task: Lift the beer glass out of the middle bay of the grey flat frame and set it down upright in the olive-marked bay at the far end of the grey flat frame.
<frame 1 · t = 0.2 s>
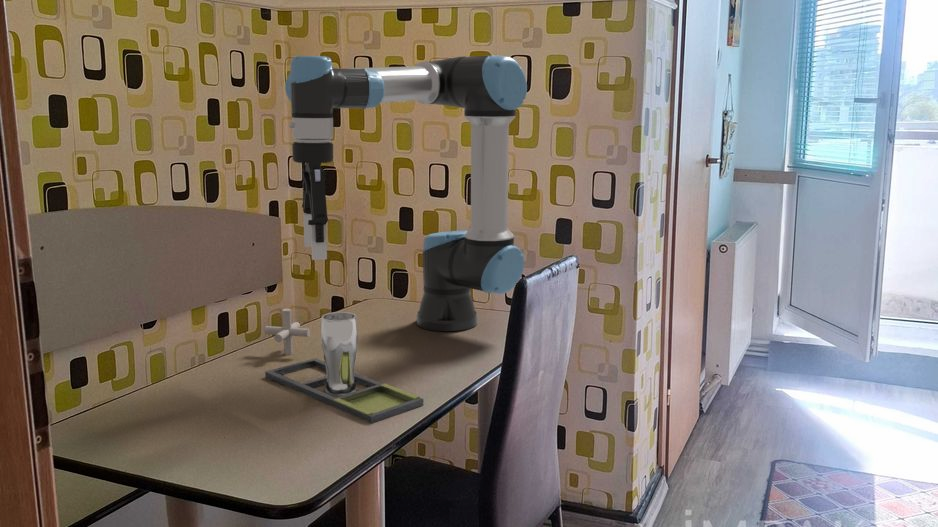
hand: (315, 252, 165), 27 cm above the table, fingers open, 13 cm apart
grey flat frame: (340, 390, 167), on the table
pipe connector: (288, 354, 190), on the table
beer glass: (340, 391, 167), resting in grey flat frame
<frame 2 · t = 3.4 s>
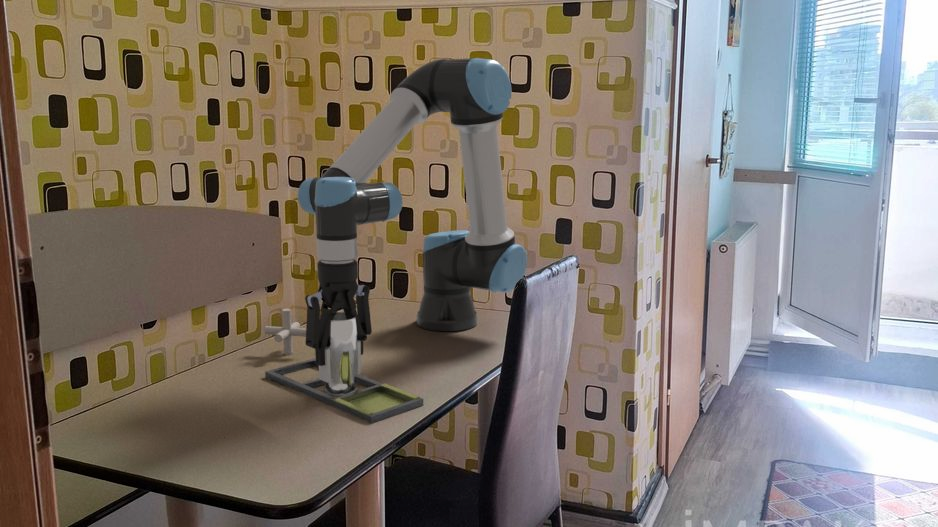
hand: (340, 375, 167), 3 cm above the table, fingers closed on beer glass, 7 cm apart
beer glass: (340, 391, 167), resting in grey flat frame, touching gripper
everything else where it was.
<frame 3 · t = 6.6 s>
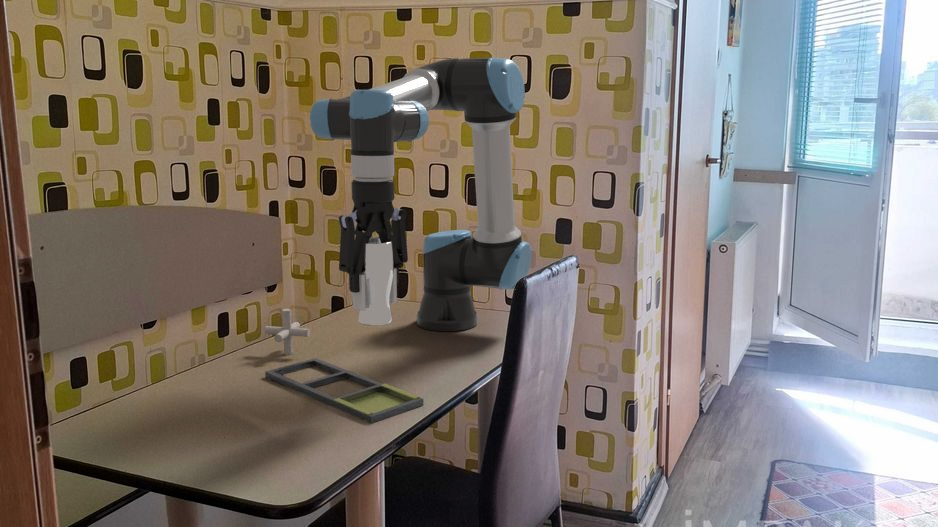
hand: (375, 305, 156), 19 cm above the table, fingers closed on beer glass, 7 cm apart
beer glass: (375, 322, 157), point 16 cm above the table, touching gripper
everything else where it was.
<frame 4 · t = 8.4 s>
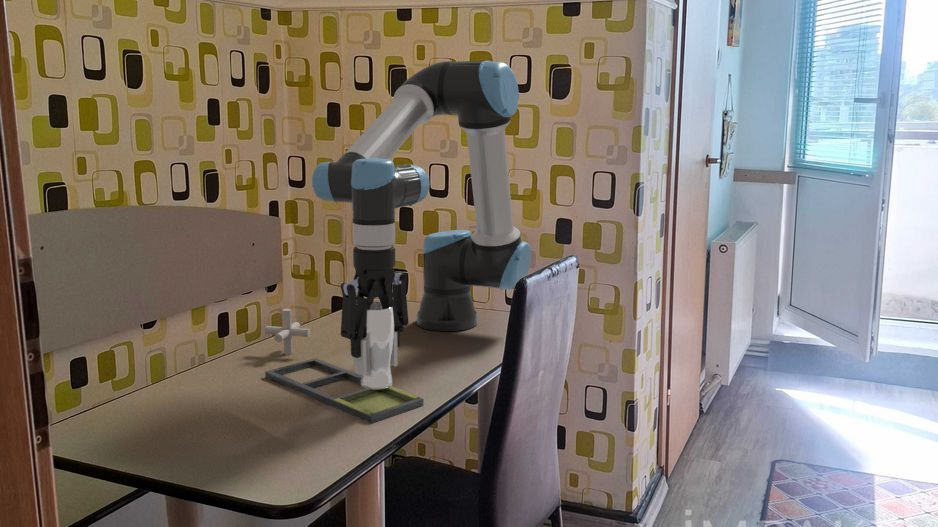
hand: (376, 368, 158), 7 cm above the table, fingers closed on beer glass, 7 cm apart
beer glass: (376, 385, 159), point 4 cm above the table, touching gripper
everything else where it was.
when the fingers open (4 cm above the table, at t = 9.9 s): beer glass drops 1 cm, resting on grey flat frame.
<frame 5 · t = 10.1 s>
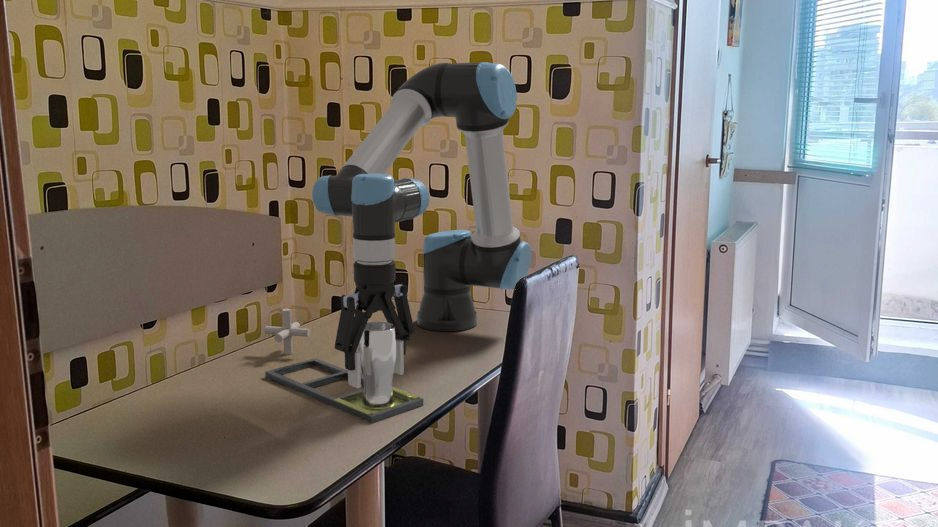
hand: (376, 379, 159), 5 cm above the table, fingers open, 9 cm apart
beer glass: (378, 404, 160), resting on grey flat frame
everything else where it was.
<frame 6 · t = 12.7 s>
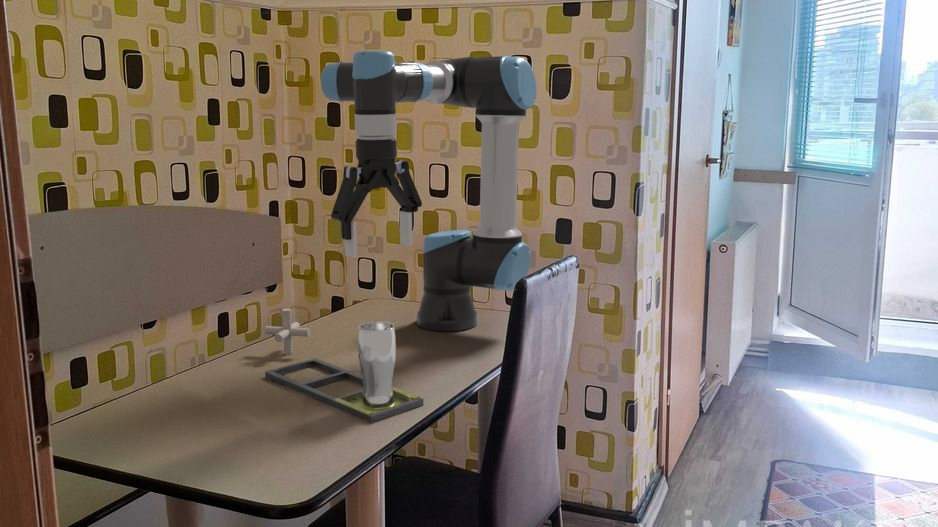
hand: (379, 250, 162), 28 cm above the table, fingers open, 13 cm apart
nothing on the table moved.
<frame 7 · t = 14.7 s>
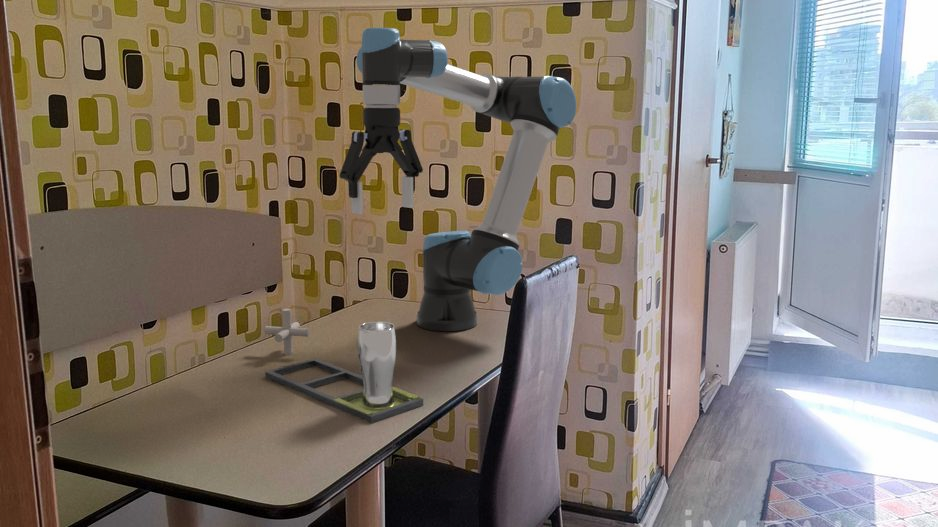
hand: (383, 210, 179), 33 cm above the table, fingers open, 13 cm apart
nothing on the table moved.
at the end: beer glass 0.3 cm from the target spot on the grey flat frame, point 0.0 cm above the grey flat frame's base; beer glass tilted 0°; the gripper is holding nothing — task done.
